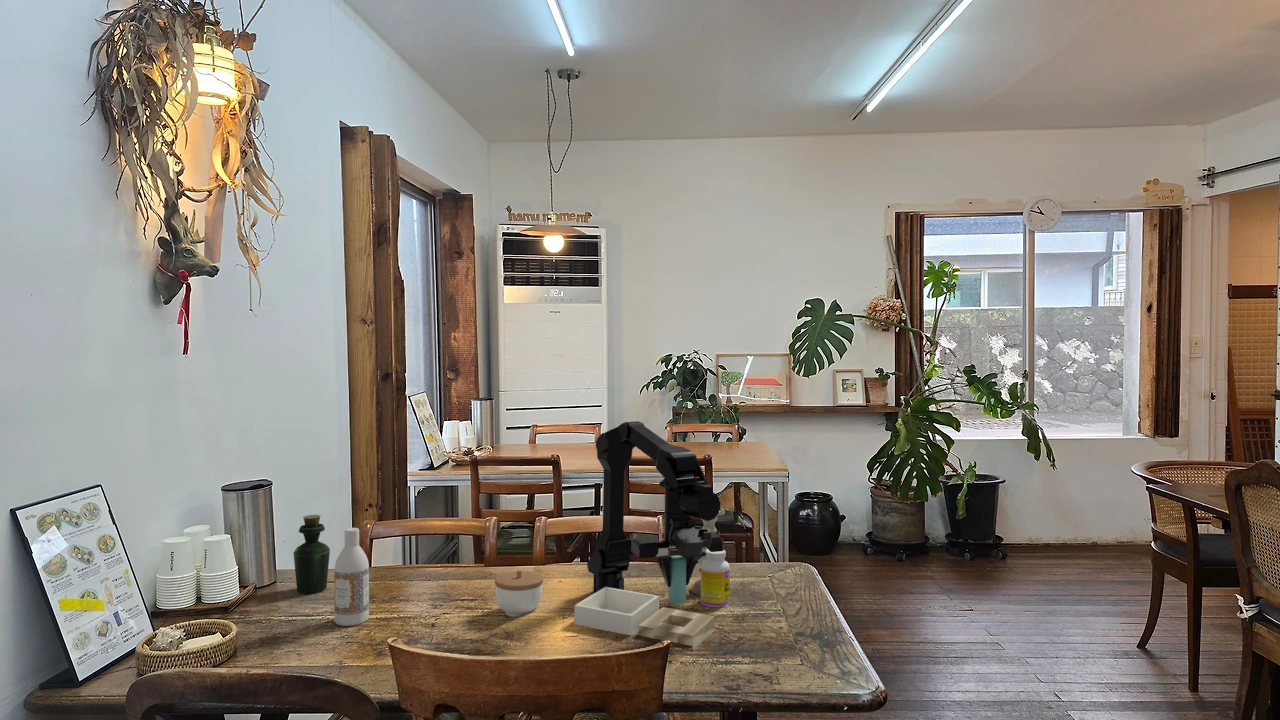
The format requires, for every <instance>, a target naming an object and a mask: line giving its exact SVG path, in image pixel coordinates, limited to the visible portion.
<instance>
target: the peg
mask: <svg viewBox="0 0 1280 720" xmlns="http://www.w3.org/2000/svg"><path fill="white" fill-rule="evenodd" d="M670 557H672V559H671V562H670V574H671V584H670V587H668V602H669V603H671V604H673V605H682V604H685V603H686V602H687V585H686V557H684V556H681V555H670Z"/></svg>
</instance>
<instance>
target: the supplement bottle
mask: <svg viewBox="0 0 1280 720" xmlns="http://www.w3.org/2000/svg"><path fill="white" fill-rule="evenodd" d="M705 553H706V560H705V561H703V562H702V564H701V566H700V568H701V573H700V579H701V596H700V603H701V604H702V605H704V606H707V607H713V608H715V607H716V608H719V607H720V608H721V607H726V606H728V605H730V584H731V583H730V577H731V575H730V570H731V567H730V563H728V561H727V560H725V559H726V550H725V549H724V550H723V551H718V552H710V551H709V550H708V549H707V550H706V552H705Z"/></svg>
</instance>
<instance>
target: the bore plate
mask: <svg viewBox="0 0 1280 720" xmlns="http://www.w3.org/2000/svg"><path fill="white" fill-rule="evenodd" d="M714 631H715V615H710V614H705V613H700V612H693V611H688V610H681V609H677V608H669V607H661V608H659V610H658V611H657V612H656V613H654V614H653V615H652V616H650V617H649V618H648V619H647V620H645V621H644V622H643V623H641V624H640V625H639V630H638V636H639V637H643V638H644V637H645V638H650V639H655V640H660V641H664V640H670V641H671V642H670V643H675V644H680V645H684V646H685V645H686V646H689V647H691V648H690V649H689V651H691V652H694V651H695V650H696V649H697V648H698V647H699V646H700V645H701V644H702V643H703V642H704V641H705V640H706V639H707V638H709V636H710V635H711V634H712V633H713V632H714Z"/></svg>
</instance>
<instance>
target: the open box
mask: <svg viewBox="0 0 1280 720" xmlns="http://www.w3.org/2000/svg"><path fill="white" fill-rule="evenodd" d="M658 610H660V595H656V594H650V593H643V592H638V591H633V590H625V589H624V590H621V589H615V588H609V587H604V588H603V589H601V590H599V591H598V592H596V593H593V594H591V595H589V596H587V597H585V599H583V600H581V601H580V602H577V603H576V604H574V614H573V615H574V617H573V618H574V625H577V626H582V627H586V628H592V629H596V630H597V629H598V630H601V631H607V632H612V633H617V634H621V635H626V636H630V637H632V636H634V635H635V634H636V633H638V632H639V625H640V624H641V623H643V622H644V621H645V620H647V619H648V618H649V617H650V616H652V615H653V614H654V613H656V612H657V611H658Z"/></svg>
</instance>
